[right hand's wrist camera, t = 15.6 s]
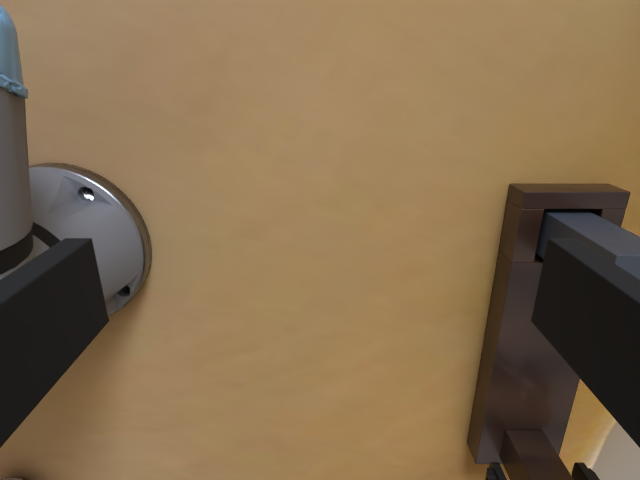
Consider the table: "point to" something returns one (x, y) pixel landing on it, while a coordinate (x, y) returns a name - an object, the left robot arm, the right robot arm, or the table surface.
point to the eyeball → (12, 479)
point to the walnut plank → (528, 341)
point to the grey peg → (592, 236)
